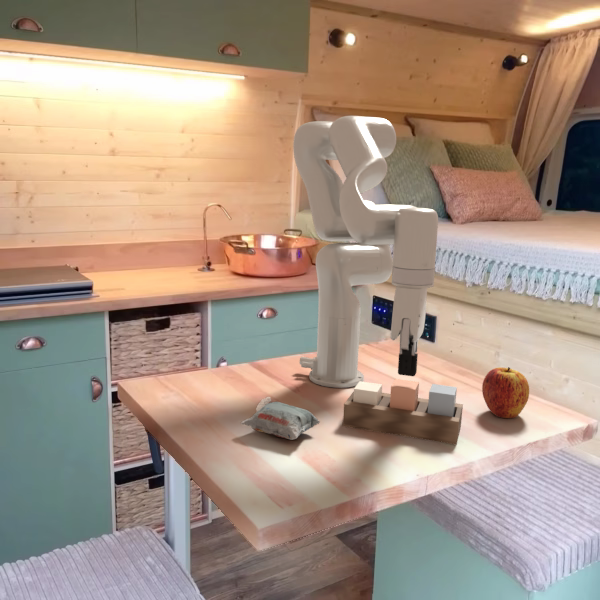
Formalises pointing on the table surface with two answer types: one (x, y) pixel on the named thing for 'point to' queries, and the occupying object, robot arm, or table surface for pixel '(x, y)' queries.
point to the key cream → (368, 393)
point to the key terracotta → (404, 394)
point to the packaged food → (282, 420)
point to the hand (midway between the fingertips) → (407, 374)
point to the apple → (505, 392)
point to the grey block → (442, 400)
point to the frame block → (403, 420)
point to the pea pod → (263, 403)
